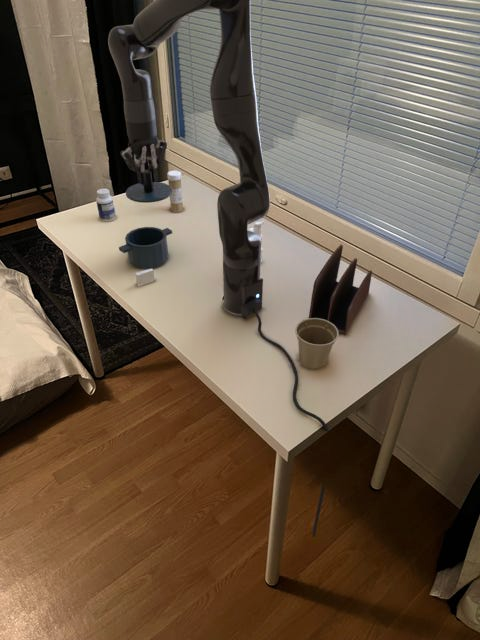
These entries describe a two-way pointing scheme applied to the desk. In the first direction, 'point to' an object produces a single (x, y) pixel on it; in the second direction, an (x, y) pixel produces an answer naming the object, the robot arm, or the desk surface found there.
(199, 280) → the desk surface
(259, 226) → the koala figurine
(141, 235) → the pot
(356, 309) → the letter holder
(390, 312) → the desk surface
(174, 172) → the sprinkles bottle
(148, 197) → the lid
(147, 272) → the eraser
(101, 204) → the pill bottle
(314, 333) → the flower pot
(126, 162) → the robot arm
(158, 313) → the desk surface
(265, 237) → the desk surface
